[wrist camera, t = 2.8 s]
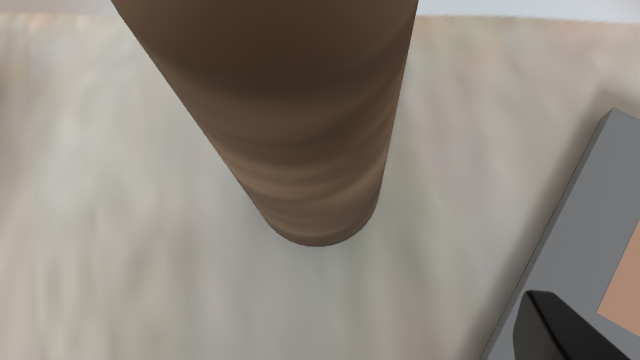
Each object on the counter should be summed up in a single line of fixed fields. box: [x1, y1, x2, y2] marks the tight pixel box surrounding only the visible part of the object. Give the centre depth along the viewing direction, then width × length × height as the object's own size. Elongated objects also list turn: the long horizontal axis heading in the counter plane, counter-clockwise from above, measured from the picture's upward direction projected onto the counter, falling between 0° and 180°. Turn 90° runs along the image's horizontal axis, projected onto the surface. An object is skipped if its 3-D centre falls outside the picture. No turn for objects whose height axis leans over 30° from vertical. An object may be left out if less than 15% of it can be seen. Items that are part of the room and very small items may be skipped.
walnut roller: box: [111, 0, 418, 247], centre depth 15 cm, size 5×5×14 cm
